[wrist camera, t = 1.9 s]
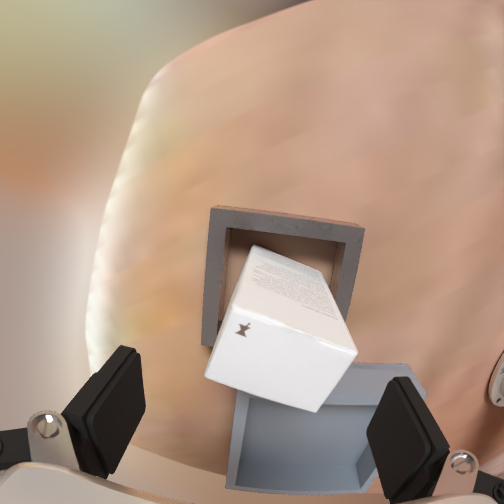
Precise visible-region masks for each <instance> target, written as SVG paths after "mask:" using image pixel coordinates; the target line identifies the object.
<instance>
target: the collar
mask: <svg viewBox="0 0 504 504" xmlns="http://www.w3.org/2000/svg"><path fill="white" fill-rule="evenodd" d="M231 228H238V229H246V230H254V231H262V232H270V233H278V234H285V235H293V236H300V237H308V238H315V239H322V240H329V241H337V242H338V246H337V252H336V257H335V263H334V268H333V273H332V279H331V284H330V289H329V290H330V292H331V294H332V296H333V298H334V300H335V302H336V304H337V307H338V309H339V311H340V313H341V315H342V318H343V320H344V322H345V321H346V317H347V313H348V309H349V305H350V301H351V296H352V292H353V287H354V283H355V278H356V273H357V269H358V264H359V259H360V253H361V248H362V242H363V237H364V231H365V228H363V227H361V226H359V225H358V224H355V223H348V222H342V221H335V220H329V219H322V218H315V217H308V216H301V215H294V214H286V213H279V212H271V211H263V210H255V209H247V208H238V207H229V206H220V205H217V206H214V207H212V208H211V212H210V222H209V234H208V245H207V258H206V271H205V285H204V300H203V317H202V336H201V345H204V346H210V347H214V345H215V342H216V339H217V336H218V333H219V331H220V328H221V325H222V322H223V321H222V317H223V305H224V294H225V283H226V273H227V262H228V252H229V242H230V232H231Z"/></svg>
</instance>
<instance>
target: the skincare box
mask: <svg viewBox="0 0 504 504" xmlns="http://www.w3.org/2000/svg"><path fill="white" fill-rule="evenodd" d="M357 355H358V350H357V348H356V346H355V344H354V342H353V339H352V337H351V335H350V333H349V331H348V328H347V326H346V324H345V322H344V320H343V318H342V315H341V313H340V311H339V309H338V307H337V304H336V302H335V300H334V298H333V296H332V294H331V292H330V290H329V288H328V285H327V283H326V281H325V279H324V277H323V275H322V273H321V272H320V271H318V270H315V269H313V268H311V267H308V266H306V265H304V264H301V263H299V262H296V261H294V260H292V259H289V258H287V257H284V256H282V255H280V254H277V253H275V252H272V251H270V250H267V249H265V248H263V247H260V246H258V245H256V244H253V245H252V247H251V250H250V252H249V254H248V257H247V259H246V261H245V264H244V266H243V268H242V271H241V273H240V276H239V278H238V281H237V284H236V286H235V289H234V291H233V294H232V297H231V300H230V302H229V305H228V308H227V311H226V314H225V317H224V319H223V322H222V325H221V328H220V331H219V333H218V336H217V339H216V342H215V345H214V347H213V350H212V353H211V356H210V359H209V361H208V364H207V367H206V370H205V373H204V376H205V378H207V379H210V380H212V381H215V382H218V383H221V384H224V385H226V386H229V387H232V388H235V389H237V390H240V391H243V392H246V393H249V394H252V395H255V396H258V397H262V398H265V399H268V400H271V401H275V402H278V403H281V404H285V405H288V406H292V407H295V408H299V409H303V410H306V411H310V412H313V413H316V412H317V411H318V409H319V408H320V407H321V405H322V404H323V403H324V401H325V400H326V399H327V397H328V396H329V395H330V393H331V392H332V391H333V389H334V388H335V386H336V385H337V384H338V382H339V381H340V379H341V378H342V377H343V375H344V374H345V372H346V371H347V369H348V368H349V366H350V365H351V364H352V362H353V361H354V359H355V358H356V356H357Z"/></svg>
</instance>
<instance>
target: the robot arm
mask: <svg viewBox="0 0 504 504" xmlns="http://www.w3.org/2000/svg"><path fill="white" fill-rule="evenodd" d="M488 393H489V398H490V400H491V401H492V403H493V404H494V405H496V406H498V407H503V406H504V353H503V354H502V356H501V358H500V359H499V361H498V363H497V365H496V367H495V369H494V371H493V374H492V377H491V380H490V384H489V390H488ZM145 408H146V404H145V396H144V387H143V378H142V368H141V357H140V354H139V353H137V352H136V349H135V348H131V347H127V346H123V345H120V346H119V347H118V348H117V350H116V351H115V352H114V353H113V354H112V356H111V357H110V358H109V359H108V360H107V362H106V363H105V364H104V365H103V366H102V368H101V369H100V370H99V371H98V372H97V373H94V374H93V375H92V376H91V377H90V378H89V380H88V381H87V382H86V383H85V385H84V386H83V387H82V388H81V389H80V391H79V392H78V393H77V394H76V396H75V397H74V398H73V399H72V400H71V402H70V403H69V404H68V405H67V407H66V408H65V409H64V411H63V412H62V413H61V414H58V413H56V412H53V411H41V412H37V413H36V414H34V415H33V416H32V417H31V418H30V419H29V421H28V424H27V428H21V429H13V430H6V431H0V504H193V503H188V502H183V501H178V500H174V499H169V498H165V497H161V496H157V495H154V494H150V493H146V492H142V491H139V490H136V489H132V488H129V487H126V486H123V485H120V484H117V483H114V482H111V481H108V480H105V479H107V477H108V475H109V473H110V474H113V473H114V472H115V470H116V468H117V466H118V464H119V462H120V460H121V458H122V456H123V454H124V452H125V450H126V448H127V446H128V444H129V442H130V440H131V438H132V436H133V434H134V432H135V430H136V428H137V426H138V424H139V422H140V420H141V418H142V416H143V414H144V412H145ZM366 435H367V439H368V442H369V445H370V448H371V452H372V455H373V458H374V461H375V465H376V468H377V471H378V475H379V478H380V481H381V485H382V488H383V492H384V495H385V497H386V499H389V501H390V504H504V480H503V479H500V478H498V477H495V476H492V475H490V474H487V473H484V472H482V471H479V470H478V469H479V463H478V460H477V458H476V457H475V455H474V454H472V453H471V452H469V451H467V450H463V449H457V450H454V451H452V452H451V453H450V451H449V447H450V446H449V444H448V442H447V440H446V438H445V437H444V435H443V433H442V431H441V430H440V428H439V426H438V424H437V423H436V421H435V419H434V417H433V416H432V414H431V412H430V411H429V409H428V407H427V406H426V404H425V402H424V401H423V399H422V397H421V396H420V394H419V392H418V391H417V389H416V387H415V386H414V384H413V383H412V381H411V379H410V378H409V377H408V376H400V377H394V378H393V379H392V380H390V381H389V382H388V384H387V386H386V388H385V391H384V393H383V395H382V397H381V400H380V402H379V404H378V406H377V408H376V411H375V413H374V415H373V417H372V419H371V421H370V423H369V425H368V427H367V430H366ZM96 476H98V477H96ZM99 477H100V478H99ZM102 478H103V479H102Z"/></svg>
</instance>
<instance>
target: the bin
mask: <svg viewBox="0 0 504 504" xmlns="http://www.w3.org/2000/svg"><path fill="white" fill-rule="evenodd" d="M400 376H408V377H409V378H410V379H411V381H412V383H413V384H414V386H415V387H416V389H417V391H418V392H419V394H420V396H421V397H422V399H423V401H424V399H425V397H426V395H427V394H426V392H425V390H424V389H423V387H422V385H421V384H420V382H419V381H418V379H417V377H416V376H415V374H414V373H413V371H412V369H411V368H410V366H409V365H408V364H376V363H352V364H351V365H350V366H349V368H348V369H347V371H346V372H345V374H344V375H343V377H342V378H341V379H340V381H339V382H338V384H337V385H336V386H335V388H334V389H333V391H332V392H331V393H330V395H329V396H328V397H327V399H326V400H325V401H324V403H323V404H322V405H321V407H320V408H319V409H318V411H317V412H316V413H313V412H310V411H306V410H303V409H299V408H295V407H292V406H288V405H285V404H281V403H278V402H275V401H271V400H268V399H265V398H262V397H258V396H255V395H252V394H249V393H246V392H243V391H240V390H237V395H236V403H235V412H234V420H233V428H232V436H231V444H230V453H229V461H228V469H227V477H226V485H225V488H227V489H234V490H241V491H250V492H259V493H270V494H288V495H337V494H353V493H365V492H366V491H367V490H368V488H369V487H370V486H371V484H372V483H373V482H374V480H375V479H376V478H377V476H378V471H377V468H376V465H375V461H374V458H373V455H372V452H371V448H370V445H369V442H368V439H367V435H366V430H367V427H368V425H369V423H370V421H371V419H372V417H373V415H374V413H375V411H376V408H377V406H378V404H379V402H380V400H381V397H382V395H383V393H384V391H385V388H386V386H387V384H388V382H389V381H390V380H392V379H393V378H394V377H400Z"/></svg>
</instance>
